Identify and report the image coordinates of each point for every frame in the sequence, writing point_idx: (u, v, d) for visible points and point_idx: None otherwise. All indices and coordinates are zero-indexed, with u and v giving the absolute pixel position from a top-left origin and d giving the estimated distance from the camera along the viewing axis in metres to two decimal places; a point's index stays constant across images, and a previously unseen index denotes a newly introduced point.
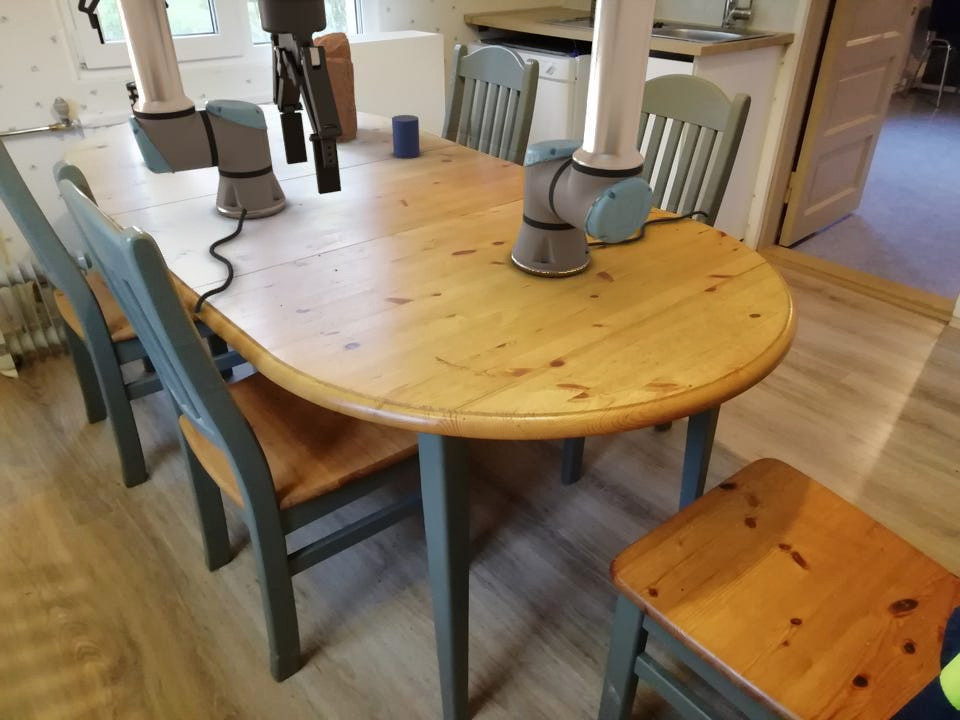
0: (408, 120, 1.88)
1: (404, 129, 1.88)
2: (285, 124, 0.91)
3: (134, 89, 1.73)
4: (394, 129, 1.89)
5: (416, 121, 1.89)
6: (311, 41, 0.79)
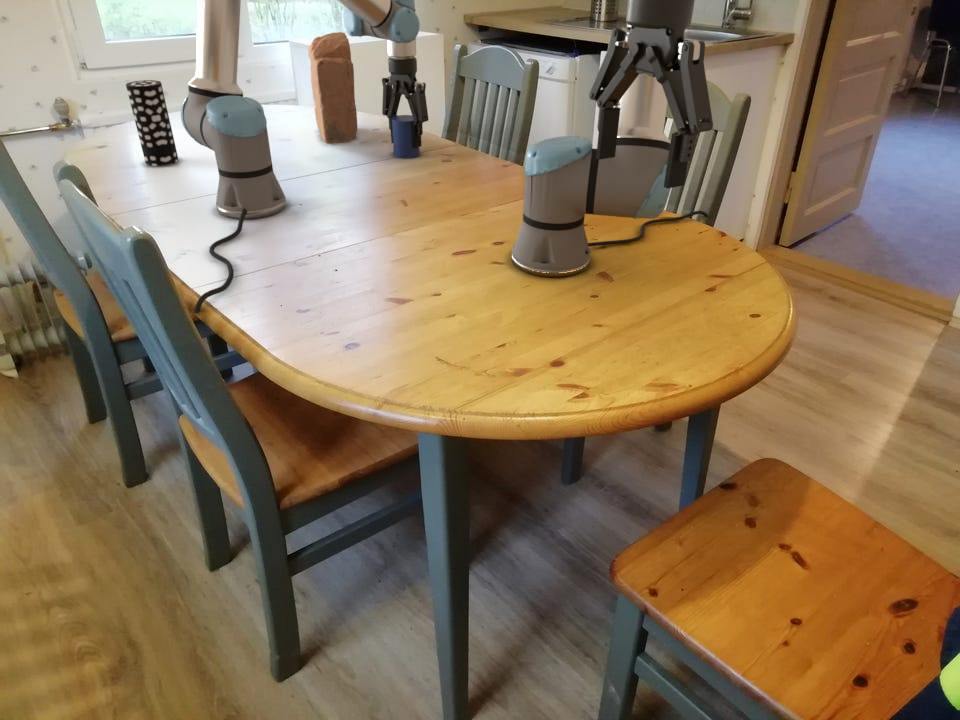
0: (408, 120, 1.88)
1: (404, 129, 1.88)
2: (605, 119, 0.92)
3: (134, 89, 1.73)
4: (394, 129, 1.89)
5: None
6: (683, 36, 0.79)
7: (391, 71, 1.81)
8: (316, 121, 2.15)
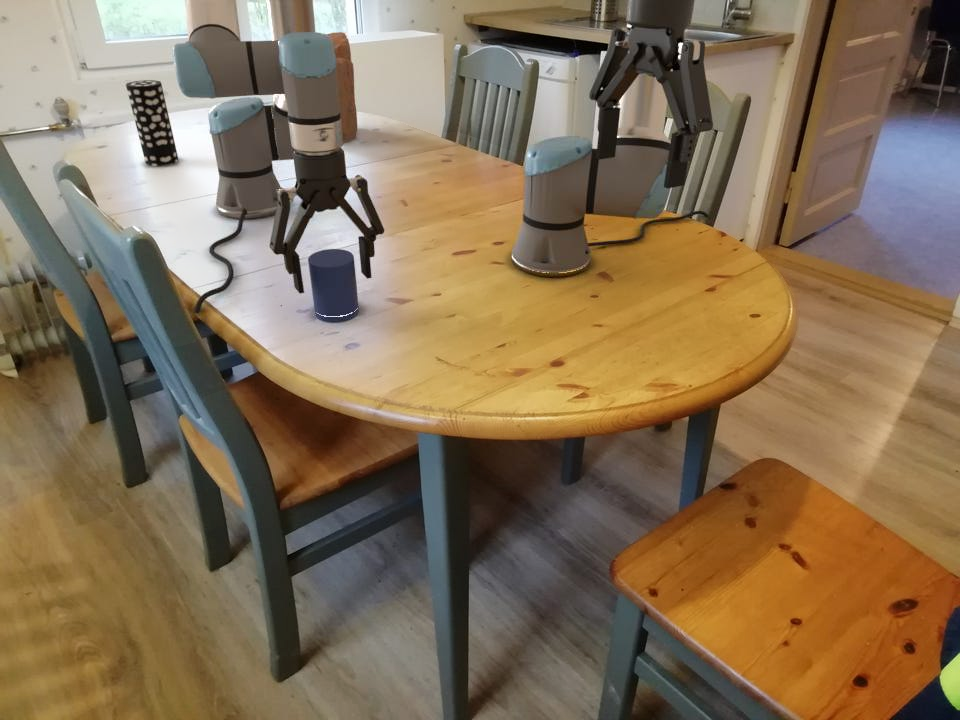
0: (314, 257, 1.12)
1: None
2: (605, 119, 0.92)
3: (134, 89, 1.73)
4: None
5: (311, 266, 1.10)
6: (683, 36, 0.79)
7: None
8: None
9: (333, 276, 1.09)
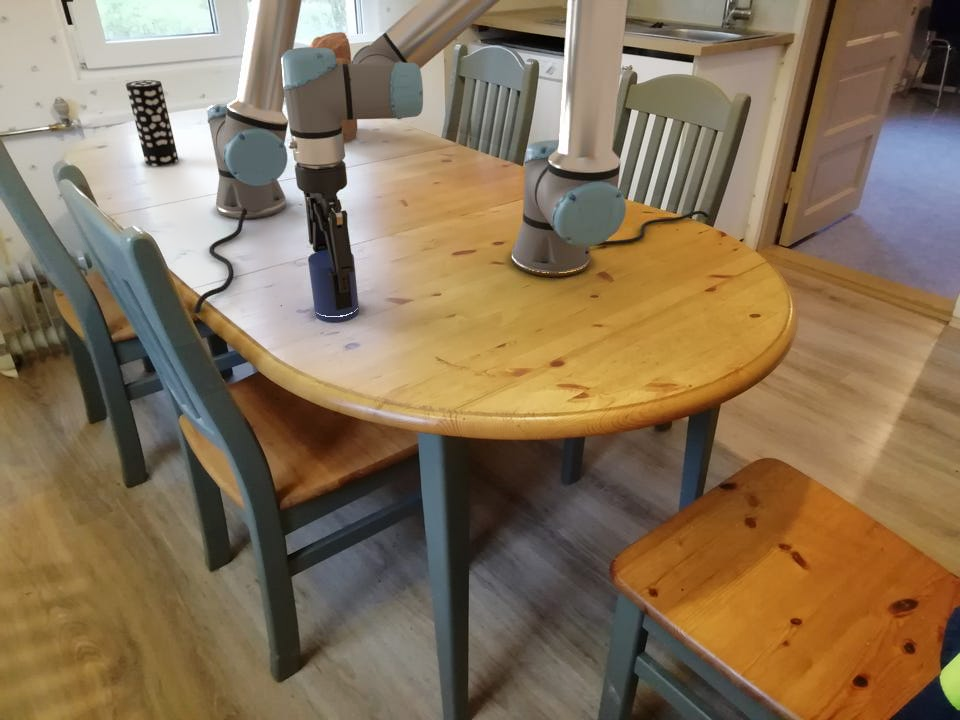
0: (314, 257, 1.12)
1: None
2: None
3: (134, 89, 1.73)
4: None
5: (311, 266, 1.10)
6: (336, 198, 1.03)
7: None
8: None
9: None
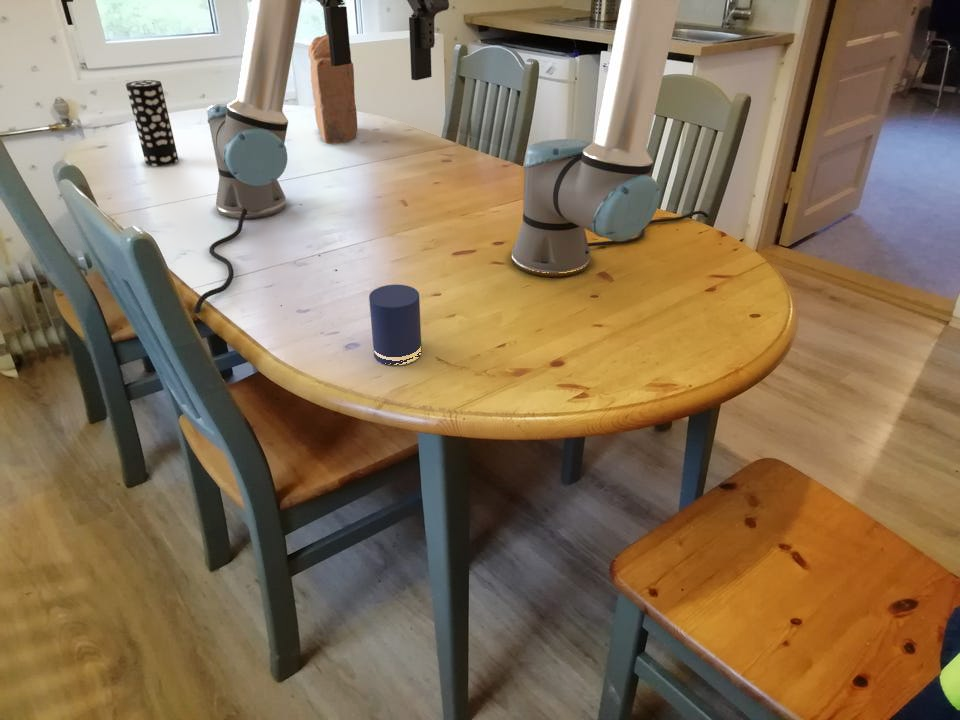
0: (376, 298, 1.00)
1: None
2: (333, 19, 0.84)
3: (134, 89, 1.73)
4: None
5: (380, 308, 0.98)
6: None
7: None
8: (316, 121, 2.15)
9: (407, 315, 0.99)
